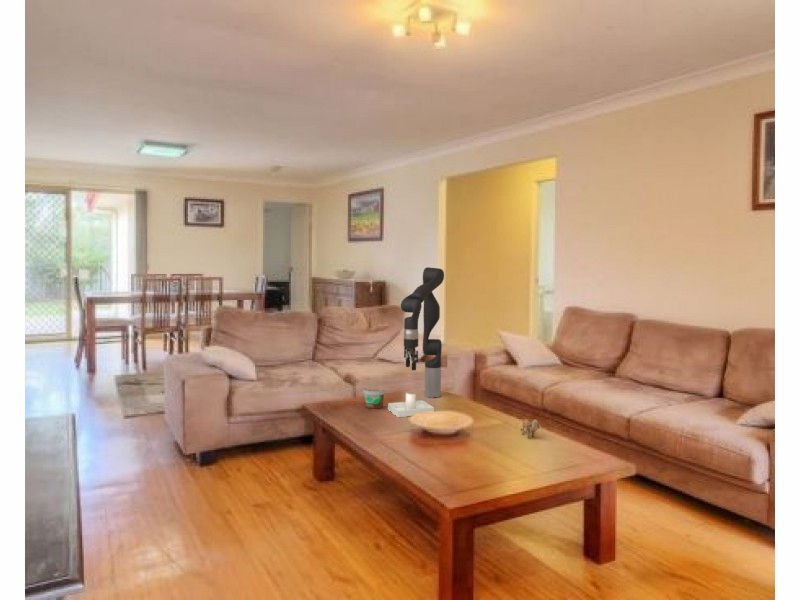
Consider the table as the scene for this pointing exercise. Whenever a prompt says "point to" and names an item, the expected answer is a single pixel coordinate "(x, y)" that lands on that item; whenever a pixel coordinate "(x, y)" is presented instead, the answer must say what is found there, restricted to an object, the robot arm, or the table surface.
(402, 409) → the tray
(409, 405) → the cup
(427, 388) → the robot arm
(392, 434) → the table surface
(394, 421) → the table surface
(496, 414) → the table surface
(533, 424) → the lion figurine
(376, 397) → the food container
